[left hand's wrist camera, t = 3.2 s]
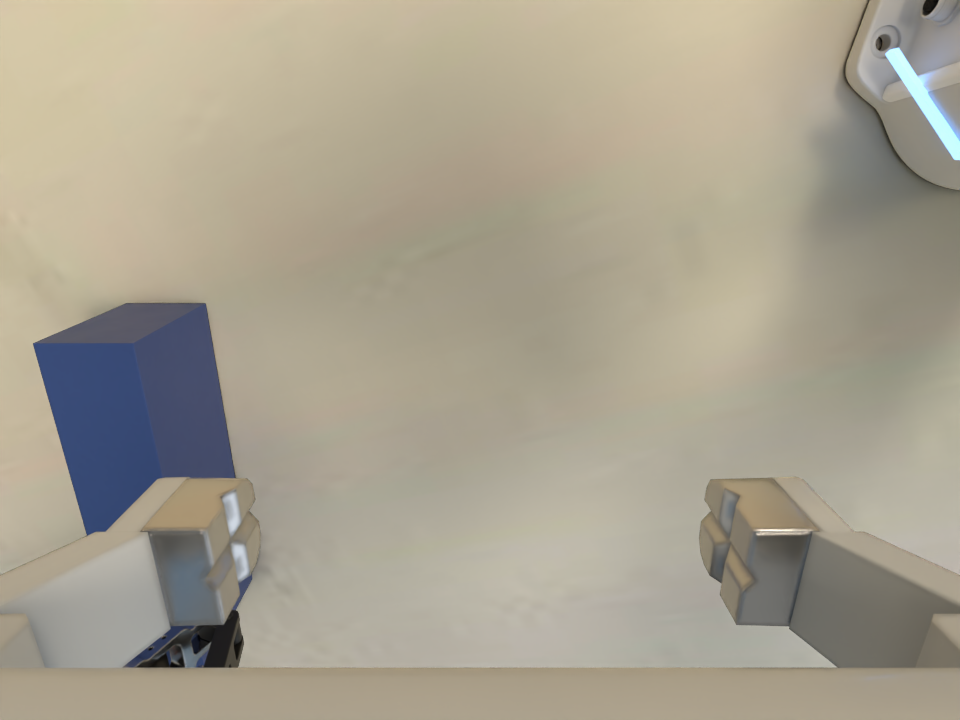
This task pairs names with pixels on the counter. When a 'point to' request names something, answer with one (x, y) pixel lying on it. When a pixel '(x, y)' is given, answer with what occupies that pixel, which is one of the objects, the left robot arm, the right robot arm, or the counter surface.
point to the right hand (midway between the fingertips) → (186, 577)
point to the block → (136, 406)
